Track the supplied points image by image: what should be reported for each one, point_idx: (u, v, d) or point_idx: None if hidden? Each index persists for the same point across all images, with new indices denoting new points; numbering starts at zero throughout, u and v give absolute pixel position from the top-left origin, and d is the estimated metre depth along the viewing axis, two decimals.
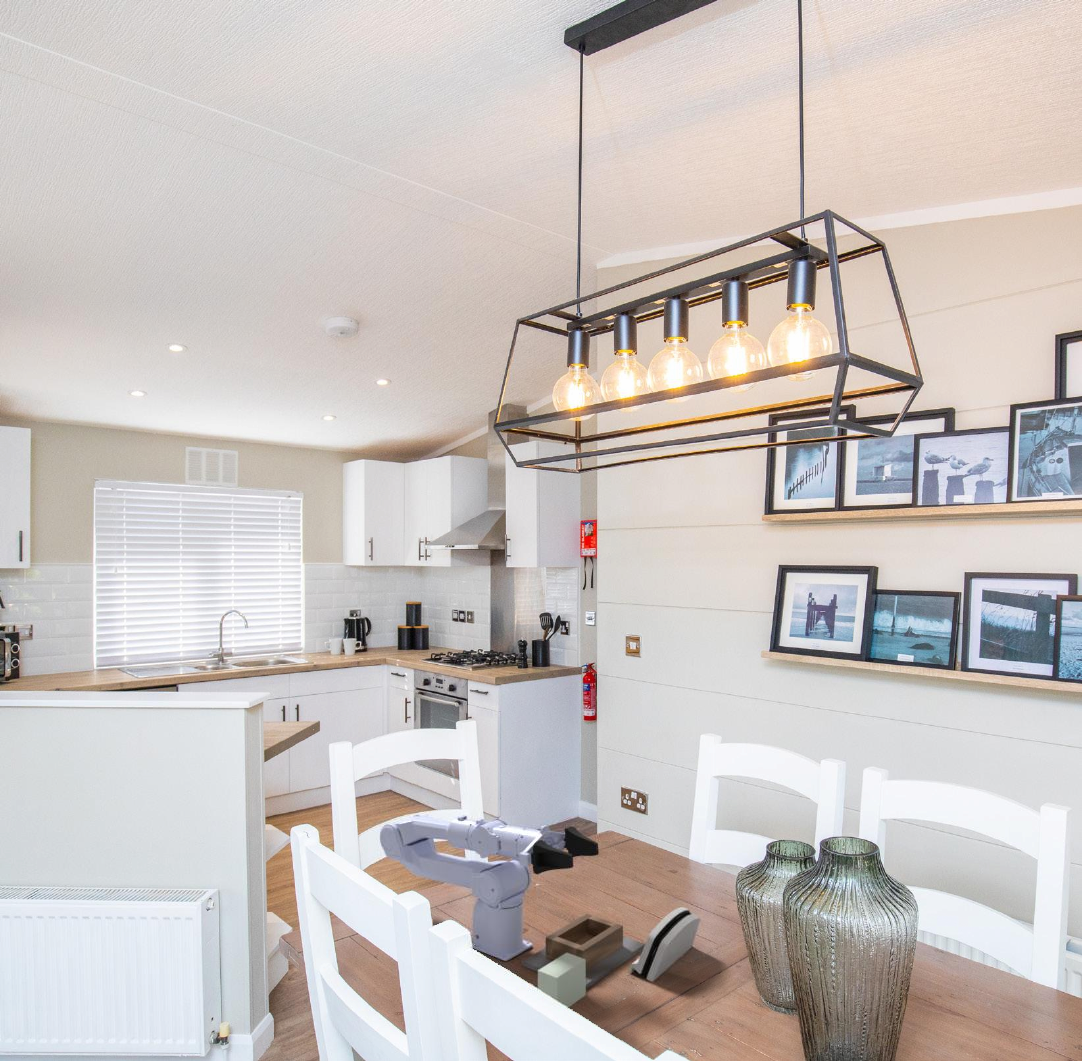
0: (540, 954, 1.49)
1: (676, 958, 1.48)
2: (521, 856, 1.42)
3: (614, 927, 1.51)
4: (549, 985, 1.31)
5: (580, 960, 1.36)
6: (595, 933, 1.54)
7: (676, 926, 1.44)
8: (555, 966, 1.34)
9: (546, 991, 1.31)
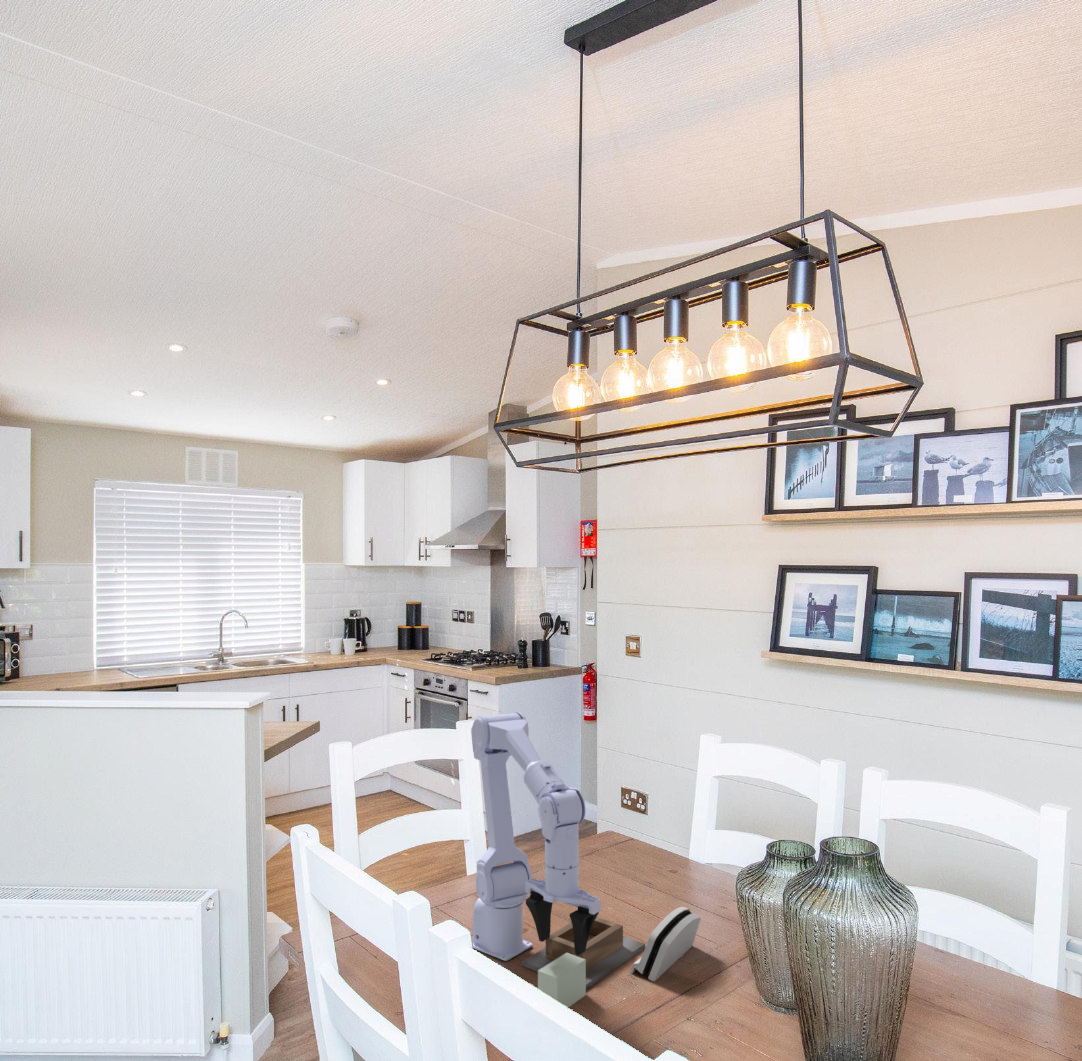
0: (540, 954, 1.49)
1: (677, 957, 1.48)
2: None
3: (614, 927, 1.51)
4: (549, 985, 1.31)
5: (580, 960, 1.36)
6: (595, 933, 1.54)
7: (677, 925, 1.44)
8: (555, 966, 1.34)
9: (546, 991, 1.31)
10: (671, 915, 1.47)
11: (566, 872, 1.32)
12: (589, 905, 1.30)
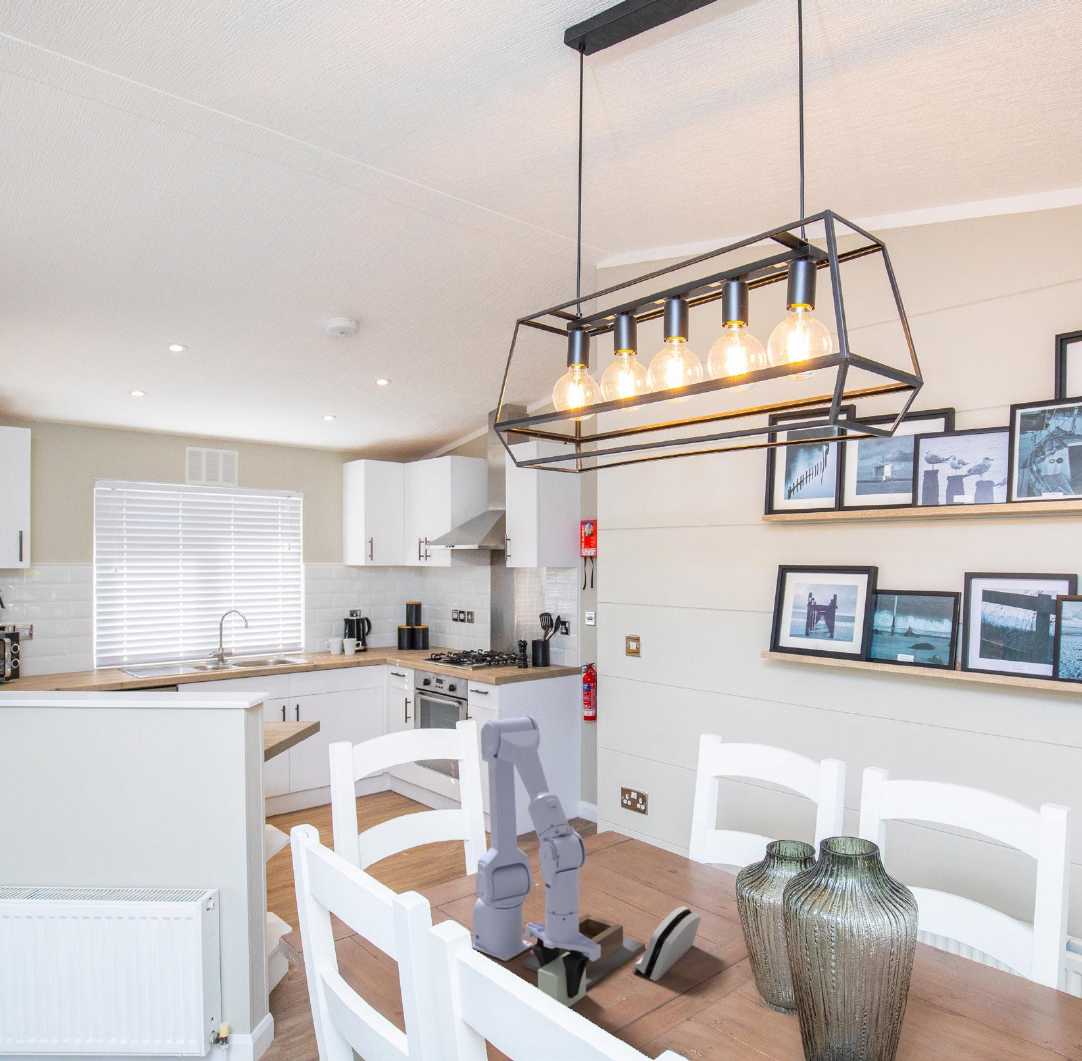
0: None
1: (678, 957, 1.48)
2: None
3: (614, 927, 1.51)
4: (549, 984, 1.31)
5: None
6: (595, 933, 1.54)
7: (679, 925, 1.45)
8: (555, 965, 1.34)
9: (546, 990, 1.31)
10: (672, 915, 1.47)
11: (566, 918, 1.32)
12: (589, 952, 1.30)
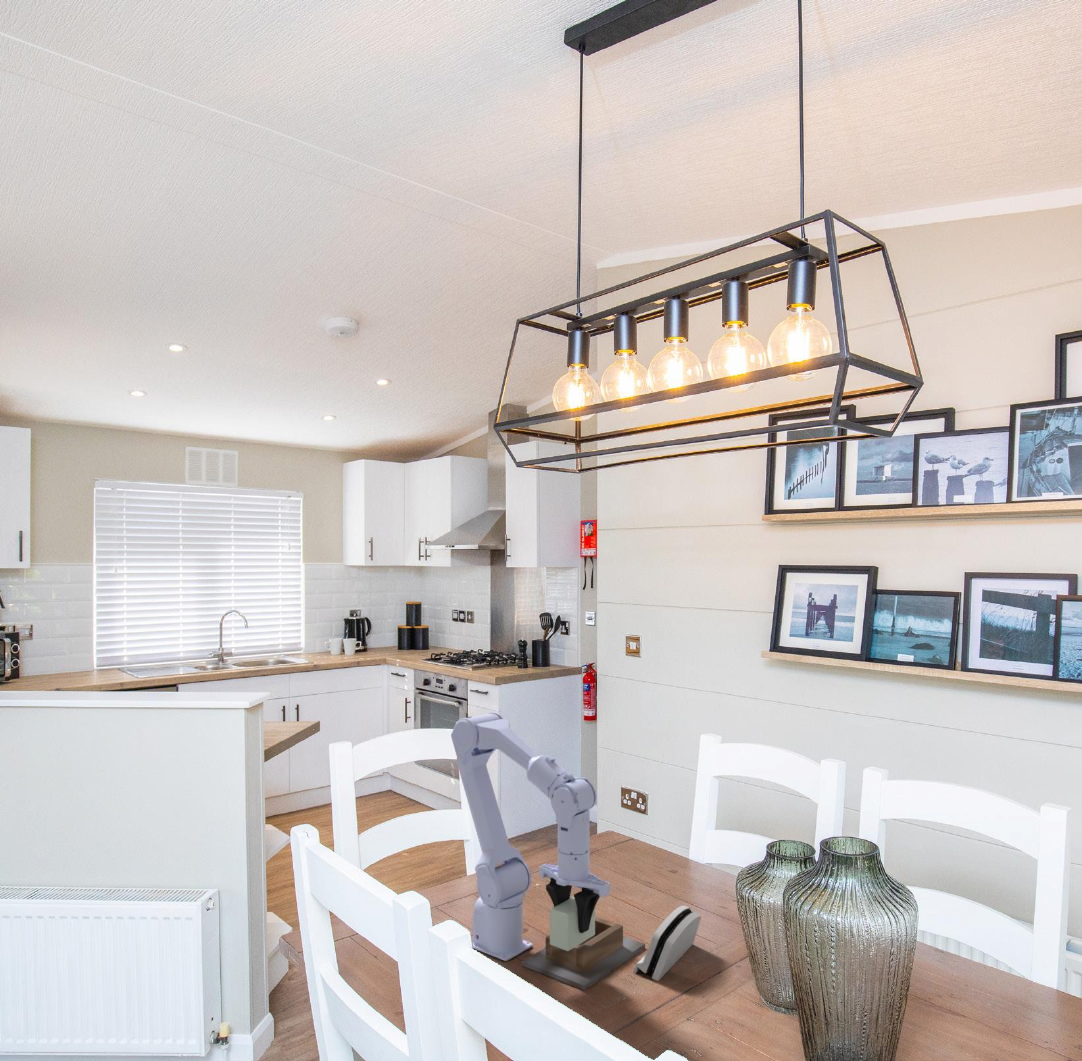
0: (540, 954, 1.49)
1: (679, 956, 1.48)
2: None
3: (614, 927, 1.51)
4: (561, 923, 1.39)
5: None
6: (595, 933, 1.54)
7: (680, 924, 1.45)
8: (566, 906, 1.42)
9: (557, 928, 1.39)
10: (673, 914, 1.47)
11: (578, 857, 1.40)
12: (599, 889, 1.38)
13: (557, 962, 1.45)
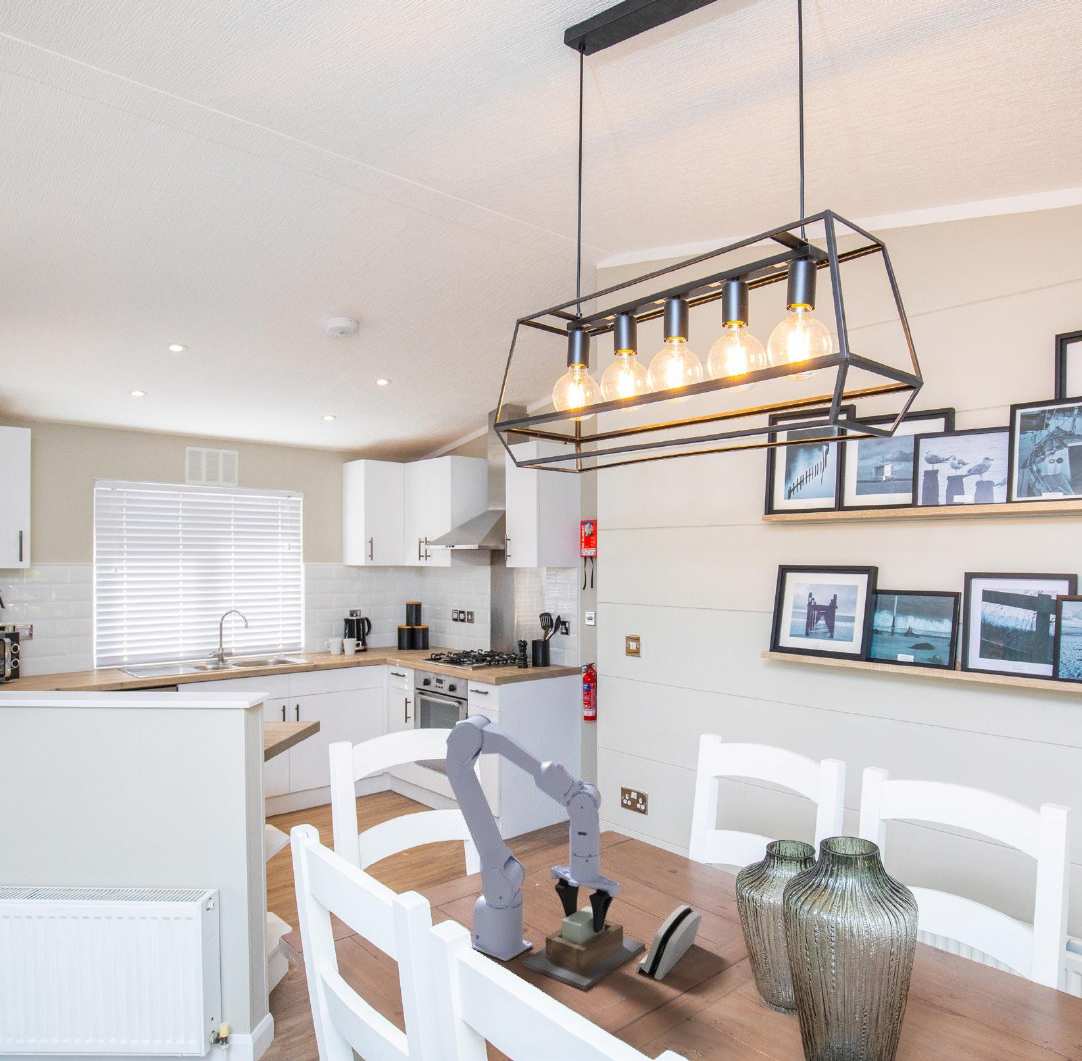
0: (540, 954, 1.49)
1: (680, 955, 1.48)
2: None
3: (614, 927, 1.51)
4: (573, 932, 1.46)
5: None
6: None
7: (682, 924, 1.45)
8: (577, 916, 1.49)
9: (570, 938, 1.46)
10: (675, 913, 1.48)
11: (589, 859, 1.48)
12: (610, 889, 1.45)
13: (557, 962, 1.45)
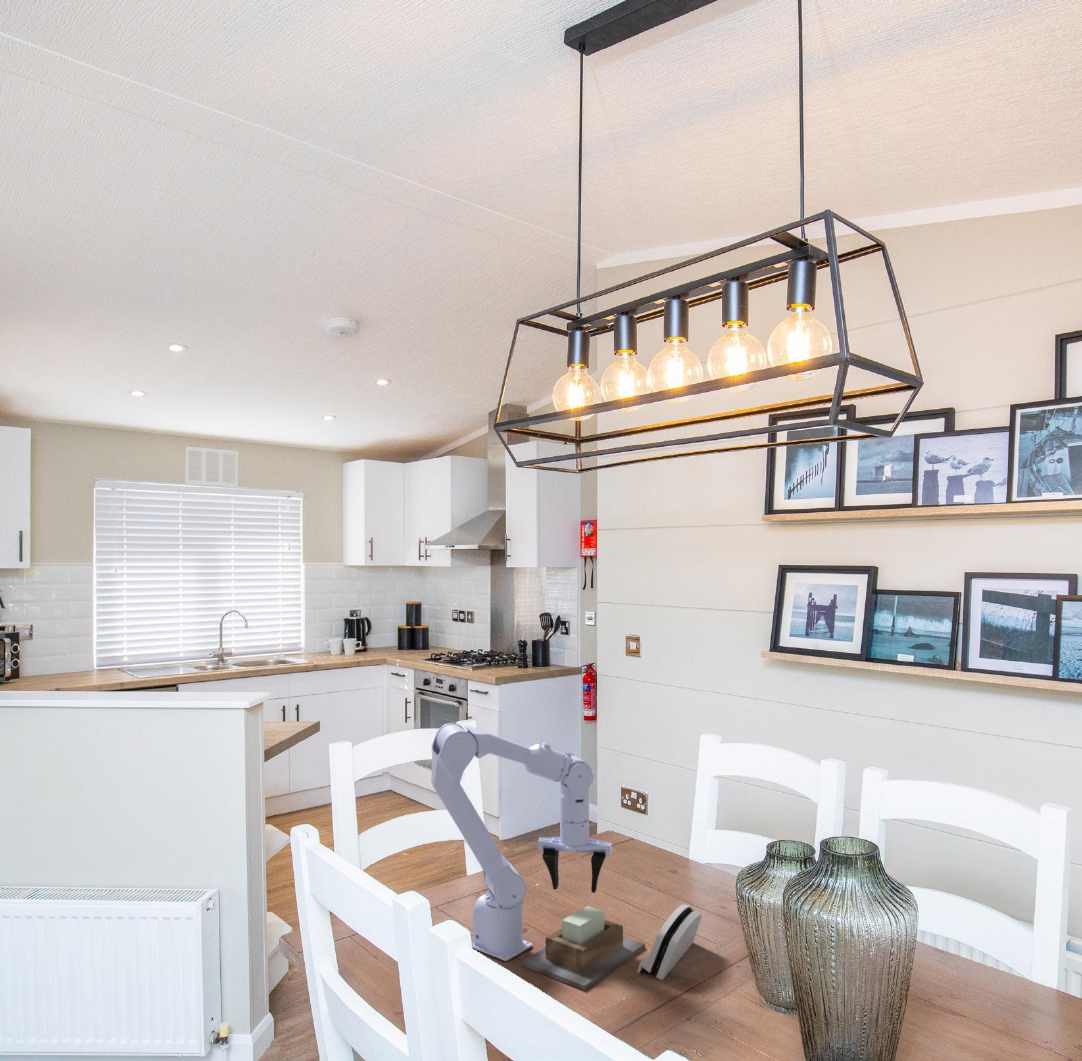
0: (540, 954, 1.49)
1: (681, 955, 1.49)
2: None
3: (614, 927, 1.51)
4: (573, 932, 1.46)
5: (599, 912, 1.51)
6: None
7: (683, 923, 1.45)
8: (577, 916, 1.49)
9: (570, 938, 1.46)
10: (676, 913, 1.48)
11: (584, 824, 1.56)
12: (606, 848, 1.56)
13: (557, 962, 1.45)
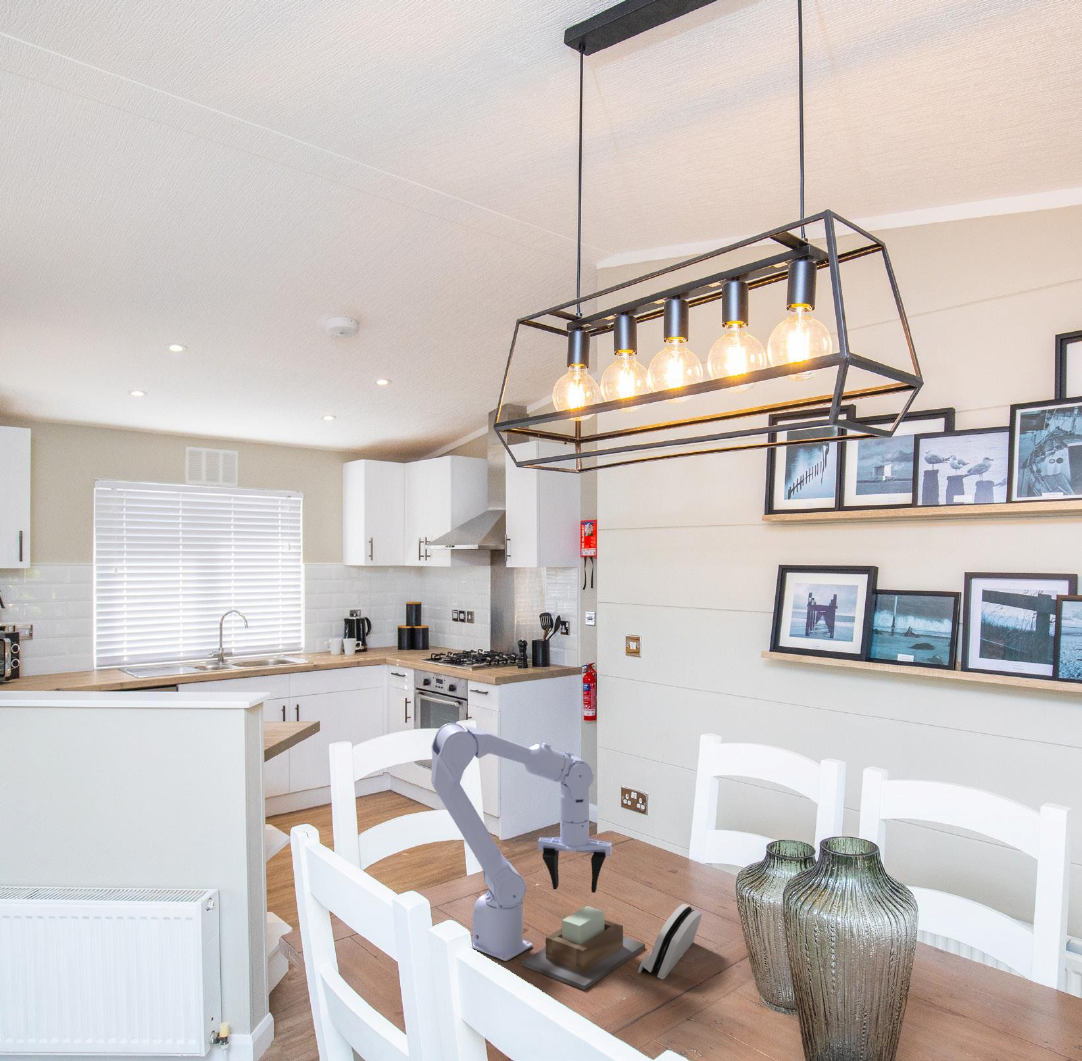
0: (540, 954, 1.49)
1: (681, 954, 1.49)
2: None
3: (614, 927, 1.51)
4: (573, 932, 1.46)
5: (599, 912, 1.51)
6: None
7: (684, 923, 1.46)
8: (577, 916, 1.49)
9: (570, 938, 1.46)
10: (676, 913, 1.48)
11: (584, 824, 1.56)
12: (606, 848, 1.56)
13: (557, 962, 1.45)
